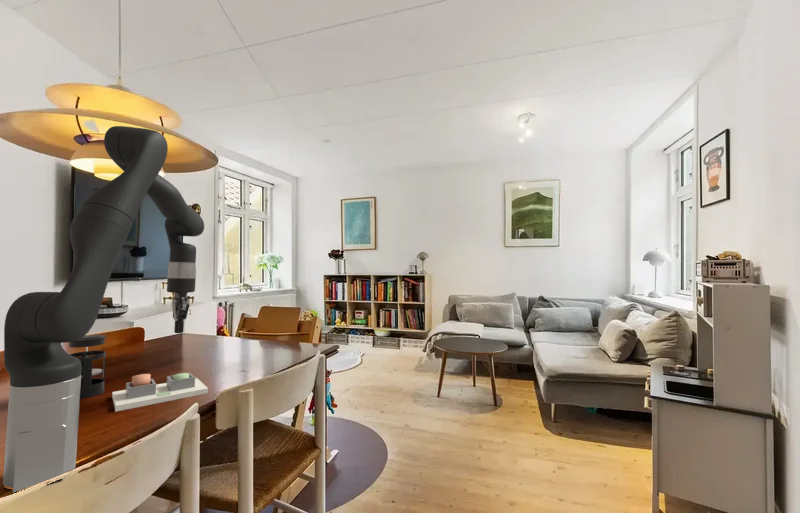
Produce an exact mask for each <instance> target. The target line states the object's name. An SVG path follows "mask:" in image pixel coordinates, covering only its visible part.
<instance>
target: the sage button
mask: <svg viewBox="0 0 800 513" xmlns="http://www.w3.org/2000/svg"><path fill="white" fill-rule="evenodd" d="M189 373H190V372H180V373H176V374H173V375H172V376H173V379H172V380H179V379H184V378H189Z"/></svg>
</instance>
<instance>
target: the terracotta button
mask: <svg viewBox="0 0 800 513" xmlns="http://www.w3.org/2000/svg"><path fill="white" fill-rule="evenodd" d="M151 376H152V375H151V373H141V374H137V375H132V376H131V382H132V387H137V386H143V385H149V384H150V380H151V379H152V378H151Z"/></svg>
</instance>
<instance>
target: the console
mask: <svg viewBox="0 0 800 513" xmlns="http://www.w3.org/2000/svg"><path fill="white" fill-rule="evenodd" d="M188 373H189V378H184V379H179V380H172V379H173V375H168V376H166V382H164V383H156V381H155V380H154V378H151V380H150V384H149V385H143V386H137V387H132V381H130V382H126V383H125V389H123V390H116V391H112V393H111V397H112V402H113V406H114V412H115V413H116V412H120V411H121V412H122V411H126V410H131V409H135V408H140V407H146V406H149V405H155V404H160V403H166V402H171V401H177V400H179V399H184V398H185V399H187V398H191V397H194V396H201V395H206V394H209V393H208V392H209V388H208V386H206V385H205V384H204V383H203V381H201V380H200V379H199V378H198V377H195V376H194V375H193V374H192V373H191V372H188Z"/></svg>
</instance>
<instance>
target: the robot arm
mask: <svg viewBox="0 0 800 513" xmlns="http://www.w3.org/2000/svg"><path fill="white" fill-rule="evenodd" d="M103 137H104V138H103V139H104V140H103V143H104V148H105V151H106V153H107V156H108V157H109V158H110V159H111V160H112V161H113V163H115V165H116V166H118V167H119V168H120V169H121V171H123V172H122V173H120V174H119V175H118V176H116V177H115V178H113V179H112V180H110V181H109V182H107V183H105V184H103V185H102V186H100V187H99V188H98V187H97V189H95V190H94V191H92V192H91V193H90V194H89V195H87V197H85V198H84V199H83V201H82V203H81V204H80V205H79V208H78V209H77V212H76V214H75V215H74V217H73V219H72V220H71V222H70V223H71V224H70V226H69V238H70V244H71V247H72V251H73V252H72V253H73V257H74V258H73V259H74V263H73V266H72V270H71V273H70V275H69V277H68V279H67V281H66V282H65V285H64V286H63V288H62V289H61V291H53V292H52V291H34V292H28V293H25V294H23V295H21V296H19V297H17V299H15V300H14V301H13V302H12V303H11V305H10V307H9V308H8V310H7V312H6V316H5V320H4V325H3V326H4V328H3V342H4V343H3V345H4V346H3V347H4V349H3V352H4V354H3V359H4V360H3V362H4V368H5V371H6V373H8V375H9V391H8V392H9V393H8V395H9V396H8V405H7V407H8V408H7V417H6V418H7V421H6V434H5V435H6V436H5V447H4V448H5V450H4V460H3V461H4V462H3V463H4V465H3V476H2V477H3V479H2V485H3V484H4V485H5V486H7V487H11V488H13V491H12V490H11V491H12V492H11V493H12V494H15V493H14V492H16V491H19V490H22V489H24V488H27V487H30V486H33V485H36V484H38V483H41V482H43V481H46V480H49V479H51V478H53V477H56V476H59V475H61V474H64V473H66V472H68V471H70V470H72V471H74V469H76V466H77V464H76V463H77V450H78V433H79V432H78V431H79V419H80V418H79V416H80V415H79V414H80V400H81V399H80V386H81V369H82V364H81V361H80V360H79V359H78V358H76V357H74V356H72V355H70V354H71V353H68V352H67V351H66V350H65V349H64V348H63V346H62V343H63V344H64V343H69V342H74V341H77V340H79V339H81V338H82V337H84V336H85V335H87V333H88V332H89V333H90V330H91V329H92V328H93V326H94V324H95V323H96V320H97V319H98V314H99V312H100V309H101V306H102V302H103V300H104V296H105V292H106V290H107V286H108V283H109V281H110V277H111V274H112V272H113V269H114V267H115V264H116V262H117V259H118V257H119V254H120V252H121V250H122V248H123V246H124V244H125V242H126V240H127V239H128V236H129V233H130V232H131V230H132V228H133V224H134V222H135V219H136V217H137V214H138V212H139V211H140V210H139V209H140V207H141V206H142V204H143V201H144V199H145V197H146V195H148V196H149V198H150V199H151V201H153V203H154V204H155V206H156V208H157V209H158V210H159V211H160V214H162V216H163V217H164V218H165V220H164V229H165V233H166V236H167V240H168V245H169V263H168V268H167V280H166V282H167V283H166V292H167V293H174V296H173V297H174V298H173V297H172V298H171V307H172V309H171V310H172V318H173V321H174V328H173V332H174V334H183V333H184V326H185V320H186V319H187V316H188V314H189V313H188V312H189V309H190V306H191V305H190V298H188V293H194V292H195V291H196V278H197V266H196V261H197V247H196V245H194V244H191V243H186V242H183V240H182V237H199V236H200V235H202V234H203V232H204V230H205V222H204V220H203V217H202V216H201V215H200V214H199V213H198V212H197V211H196V210H195V209H193V207H191V206H190V205H189V204H187V203H186V200H185V199H184V197H183V195H182V193H181V192H180V191H179V189H178V188H177V187H175V185H174V184H172V183H171V182H170V181H168V180H167V179H166V178H165V177H163V176H162V175H160V172H161V170H162V168H163V166H164V165H165V162H166V160H167V157H168V150H169V149H168V148H169V147H168V142H167V140H166V137H165V136H164V134H162V133H161V132H159V131H157V130H154V129H149V128H143V127H142V128H141V127H133V126H123V125H114V126H111V127H109V128H108V129H107V130H106V131H105V134H104V136H103ZM96 318H97V319H96ZM16 493H17V492H16Z"/></svg>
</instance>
